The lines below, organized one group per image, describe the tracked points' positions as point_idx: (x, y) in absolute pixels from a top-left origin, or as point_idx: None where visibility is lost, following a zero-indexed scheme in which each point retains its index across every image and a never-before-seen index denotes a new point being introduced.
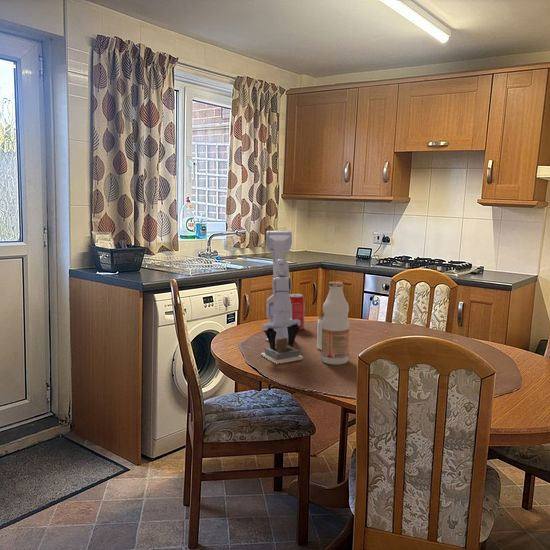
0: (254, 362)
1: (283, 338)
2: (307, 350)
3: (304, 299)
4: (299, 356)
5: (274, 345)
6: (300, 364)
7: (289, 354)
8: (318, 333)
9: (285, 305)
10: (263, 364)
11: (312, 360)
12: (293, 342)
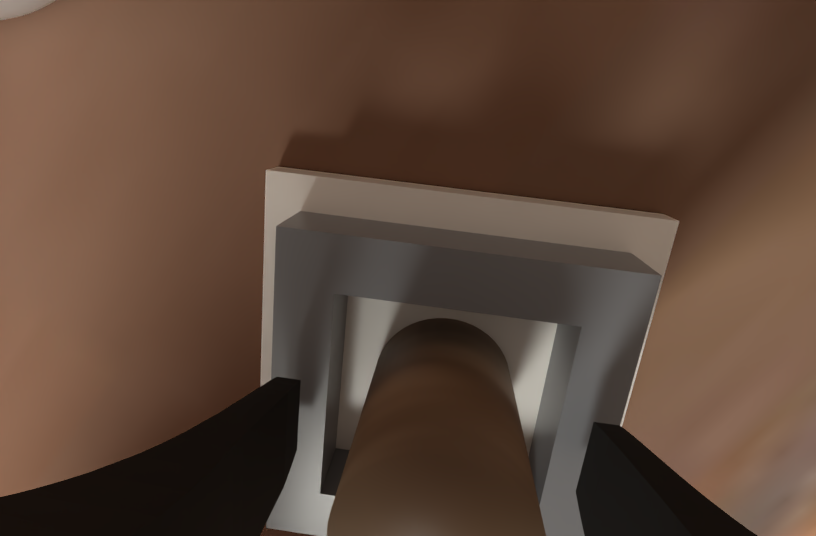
0: (798, 412)
1: (406, 528)
2: (63, 377)
3: None
4: (305, 195)
5: (634, 452)
6: (432, 11)
7: (446, 239)
8: None
9: None
10: (782, 298)
11: (206, 51)
12: (252, 397)
